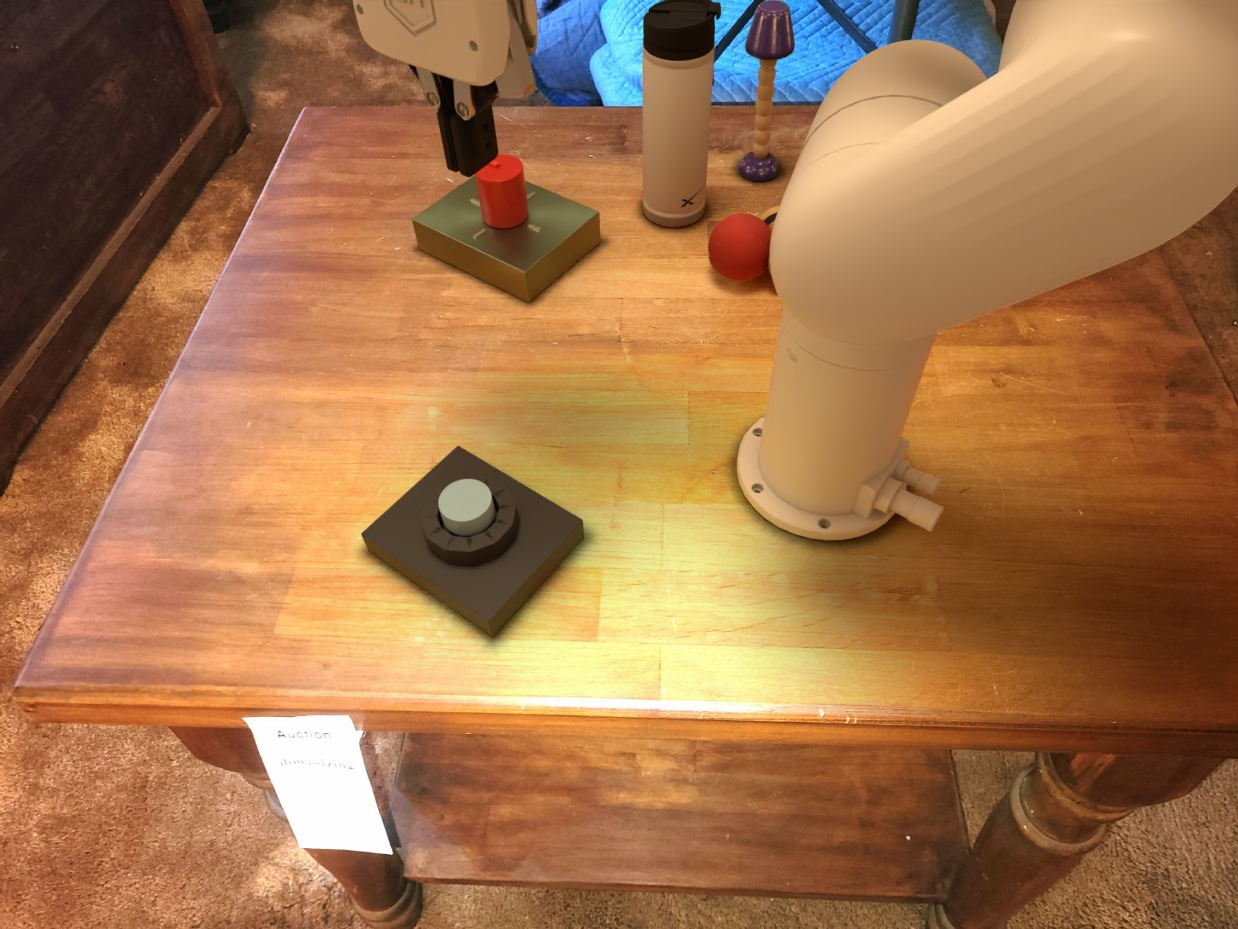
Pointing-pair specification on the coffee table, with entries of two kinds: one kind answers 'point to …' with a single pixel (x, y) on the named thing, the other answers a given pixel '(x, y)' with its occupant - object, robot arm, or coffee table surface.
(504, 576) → the button box
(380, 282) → the coffee table surface
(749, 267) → the kendama
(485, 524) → the button
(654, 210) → the travel mug
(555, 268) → the panel
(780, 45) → the toy lamp
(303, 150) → the coffee table surface
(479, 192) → the tap knob
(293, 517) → the coffee table surface
